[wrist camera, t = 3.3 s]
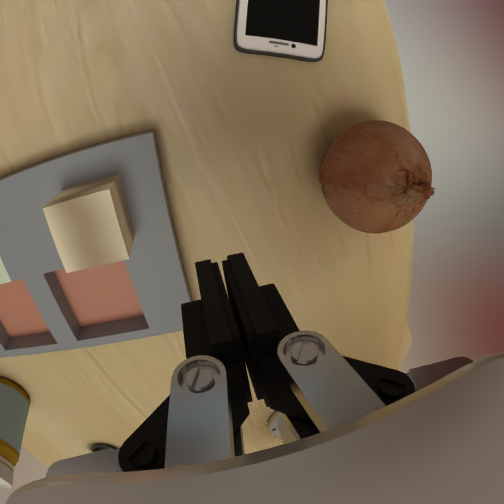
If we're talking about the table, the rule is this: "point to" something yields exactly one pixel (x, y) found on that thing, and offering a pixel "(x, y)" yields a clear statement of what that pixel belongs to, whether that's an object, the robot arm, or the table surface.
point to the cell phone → (281, 28)
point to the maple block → (91, 224)
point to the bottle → (11, 427)
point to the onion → (376, 176)
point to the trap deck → (95, 278)
